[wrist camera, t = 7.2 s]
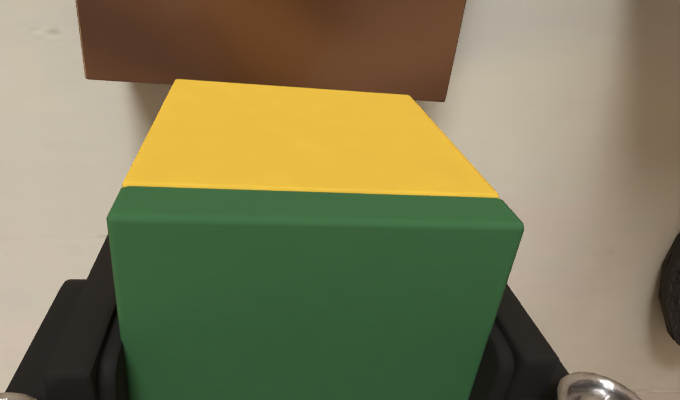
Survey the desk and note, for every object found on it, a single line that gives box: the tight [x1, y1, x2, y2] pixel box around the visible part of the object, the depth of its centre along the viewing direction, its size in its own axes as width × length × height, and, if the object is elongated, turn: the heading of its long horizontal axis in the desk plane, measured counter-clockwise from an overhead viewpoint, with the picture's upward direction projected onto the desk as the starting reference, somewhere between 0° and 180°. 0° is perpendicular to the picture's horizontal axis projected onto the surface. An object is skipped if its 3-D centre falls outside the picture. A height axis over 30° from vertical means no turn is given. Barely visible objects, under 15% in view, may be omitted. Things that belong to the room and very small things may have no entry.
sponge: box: [107, 79, 524, 400], centre depth 10 cm, size 7×5×6 cm
